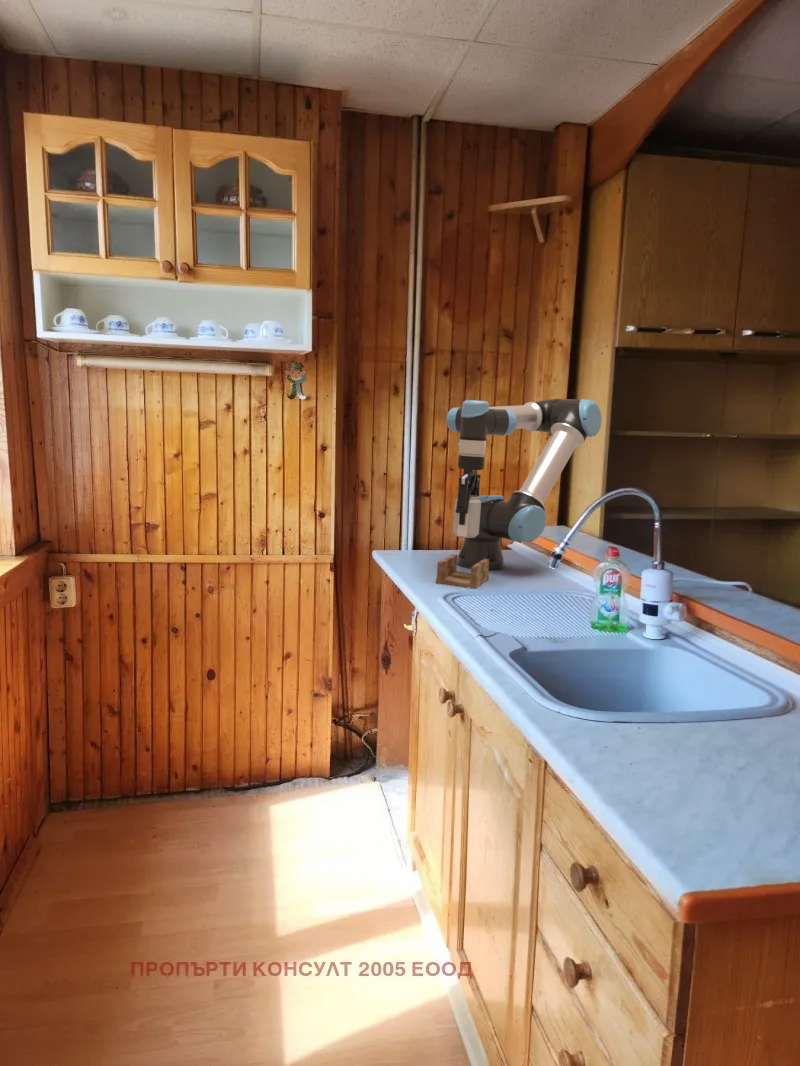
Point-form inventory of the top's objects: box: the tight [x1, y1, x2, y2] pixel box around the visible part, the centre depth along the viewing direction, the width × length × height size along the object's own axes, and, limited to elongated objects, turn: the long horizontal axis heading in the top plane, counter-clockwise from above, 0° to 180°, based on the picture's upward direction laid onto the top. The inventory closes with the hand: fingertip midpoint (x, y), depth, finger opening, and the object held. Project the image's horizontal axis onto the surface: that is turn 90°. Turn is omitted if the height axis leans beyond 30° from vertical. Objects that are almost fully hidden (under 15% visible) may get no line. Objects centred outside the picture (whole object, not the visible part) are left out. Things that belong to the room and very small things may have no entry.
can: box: [452, 495, 481, 538], centre depth 209 cm, size 8×8×12 cm
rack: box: [435, 554, 490, 589], centre depth 212 cm, size 14×12×6 cm
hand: (466, 533), depth 210 cm, fingers closed on can, 7 cm apart
